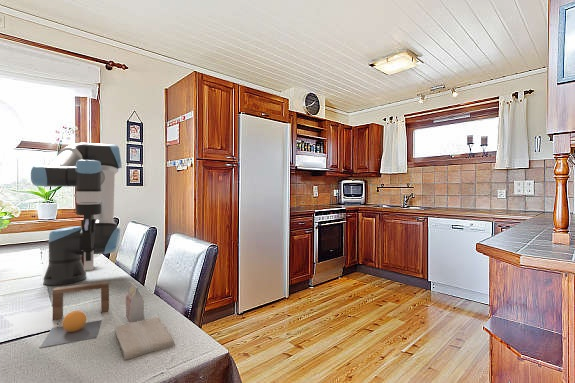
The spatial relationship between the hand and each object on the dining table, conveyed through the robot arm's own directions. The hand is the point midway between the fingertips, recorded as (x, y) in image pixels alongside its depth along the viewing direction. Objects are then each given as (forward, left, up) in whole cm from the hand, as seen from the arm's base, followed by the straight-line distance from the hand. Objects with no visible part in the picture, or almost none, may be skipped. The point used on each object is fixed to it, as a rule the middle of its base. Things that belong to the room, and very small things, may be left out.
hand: (88, 269), depth 107 cm
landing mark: (+27, 0, -11) cm, 30 cm away
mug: (-57, -10, -12) cm, 59 cm away
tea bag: (+23, +15, -12) cm, 30 cm away
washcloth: (+39, +17, -12) cm, 45 cm away
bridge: (+13, 0, -11) cm, 18 cm away
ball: (+26, 0, -9) cm, 27 cm away
